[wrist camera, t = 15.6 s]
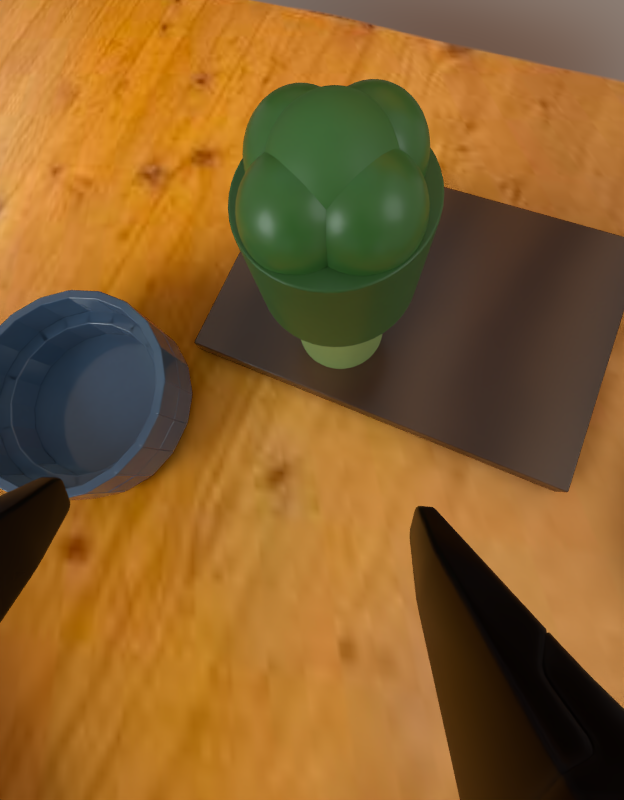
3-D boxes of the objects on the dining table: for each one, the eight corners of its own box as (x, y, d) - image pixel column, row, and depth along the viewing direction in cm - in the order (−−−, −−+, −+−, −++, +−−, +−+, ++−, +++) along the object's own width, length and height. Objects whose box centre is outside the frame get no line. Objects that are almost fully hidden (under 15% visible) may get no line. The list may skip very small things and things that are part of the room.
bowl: (226, 355, 23) (201, 331, 19) (141, 528, 21) (95, 540, 18) (80, 297, 25) (31, 264, 21) (-7, 451, 23) (-79, 446, 19)
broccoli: (422, 331, 21) (539, 99, 8) (336, 408, 21) (314, 291, 8) (345, 258, 22) (338, -38, 10) (263, 327, 22) (141, 116, 9)
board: (629, 254, 22) (645, 242, 21) (555, 491, 20) (568, 492, 18) (296, 159, 26) (293, 144, 25) (201, 349, 23) (193, 342, 22)
